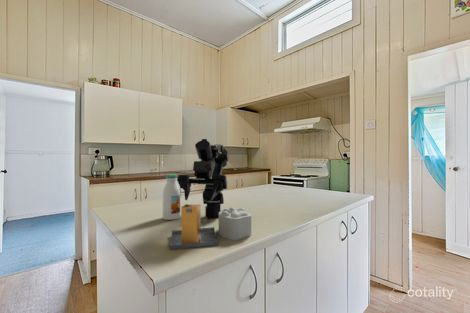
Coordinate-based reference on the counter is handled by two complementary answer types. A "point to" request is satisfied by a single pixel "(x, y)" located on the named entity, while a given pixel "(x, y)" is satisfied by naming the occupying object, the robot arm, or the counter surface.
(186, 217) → the block
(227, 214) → the lumpy-topped squat cylinder
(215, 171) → the robot arm
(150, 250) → the counter surface
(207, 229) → the dark grey tray
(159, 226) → the counter surface
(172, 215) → the milk bottle
